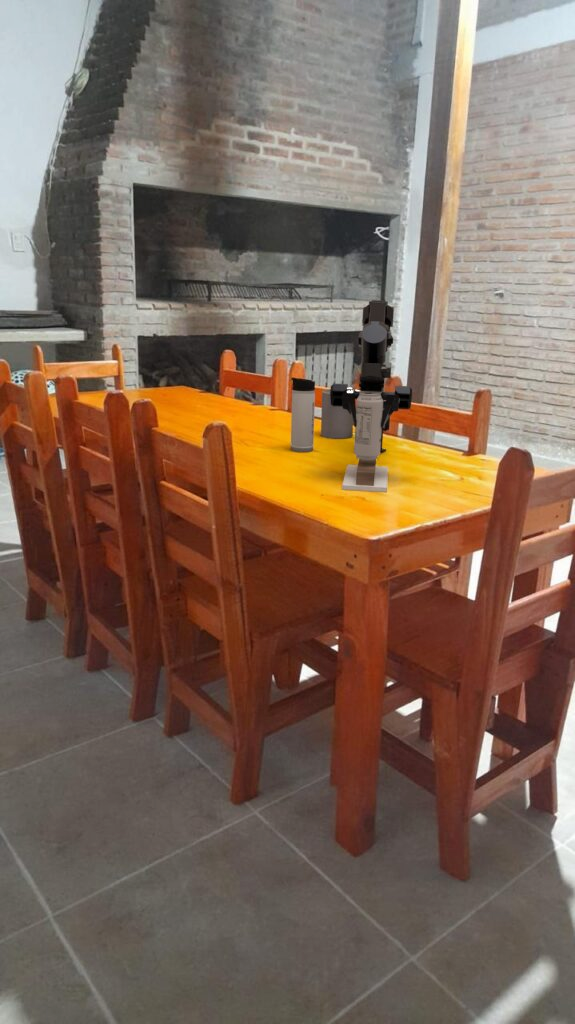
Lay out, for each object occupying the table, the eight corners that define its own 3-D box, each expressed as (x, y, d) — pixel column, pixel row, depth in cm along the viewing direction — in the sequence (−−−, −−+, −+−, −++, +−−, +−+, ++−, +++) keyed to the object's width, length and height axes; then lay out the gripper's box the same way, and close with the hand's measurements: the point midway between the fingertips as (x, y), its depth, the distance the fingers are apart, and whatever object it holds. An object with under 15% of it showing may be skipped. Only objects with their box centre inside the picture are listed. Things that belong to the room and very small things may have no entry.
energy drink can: (385, 459, 166) (389, 394, 162) (363, 461, 164) (366, 395, 159) (370, 453, 171) (373, 390, 167) (348, 455, 169) (351, 391, 164)
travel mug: (286, 448, 202) (287, 376, 196) (307, 447, 204) (309, 375, 198) (295, 453, 196) (296, 379, 190) (316, 451, 199) (319, 378, 193)
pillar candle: (334, 431, 227) (336, 383, 222) (359, 436, 220) (360, 387, 216) (314, 436, 220) (315, 386, 216) (338, 440, 214) (339, 390, 209)
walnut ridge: (359, 466, 179) (360, 454, 178) (375, 467, 178) (376, 455, 177) (355, 484, 162) (356, 471, 161) (373, 485, 161) (374, 472, 160)
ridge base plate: (347, 468, 180) (347, 464, 180) (387, 470, 179) (387, 466, 179) (342, 489, 161) (342, 485, 161) (386, 492, 160) (387, 487, 160)
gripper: (332, 348, 165) (326, 403, 158) (414, 350, 162) (412, 407, 155) (333, 378, 175) (328, 432, 168) (411, 381, 172) (409, 435, 165)
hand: (368, 426), depth 164 cm, fingers closed on energy drink can, 6 cm apart
